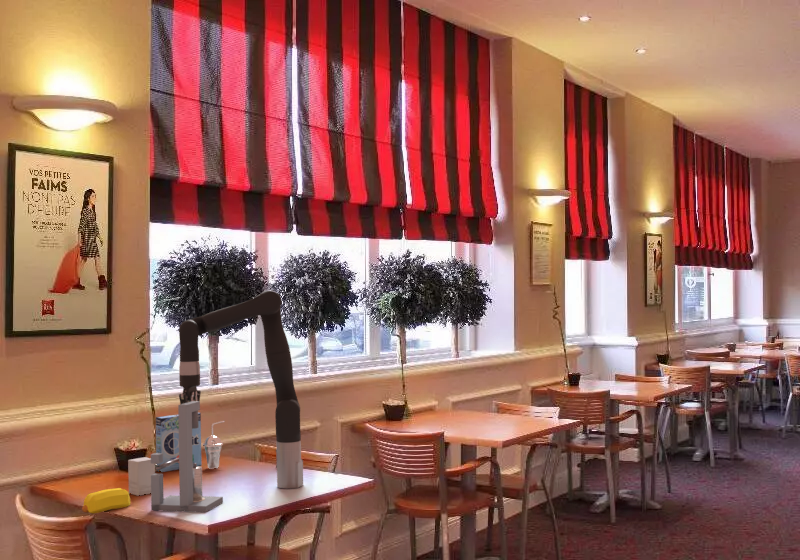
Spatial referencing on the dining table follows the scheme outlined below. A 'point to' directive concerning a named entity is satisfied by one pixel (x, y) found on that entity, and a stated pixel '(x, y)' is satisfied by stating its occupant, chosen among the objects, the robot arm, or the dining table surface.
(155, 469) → the lever
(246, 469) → the dining table surface
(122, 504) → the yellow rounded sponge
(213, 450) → the cup with straw
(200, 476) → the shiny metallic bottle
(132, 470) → the supplement box
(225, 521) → the dining table surface
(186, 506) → the press
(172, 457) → the blue cereal box
